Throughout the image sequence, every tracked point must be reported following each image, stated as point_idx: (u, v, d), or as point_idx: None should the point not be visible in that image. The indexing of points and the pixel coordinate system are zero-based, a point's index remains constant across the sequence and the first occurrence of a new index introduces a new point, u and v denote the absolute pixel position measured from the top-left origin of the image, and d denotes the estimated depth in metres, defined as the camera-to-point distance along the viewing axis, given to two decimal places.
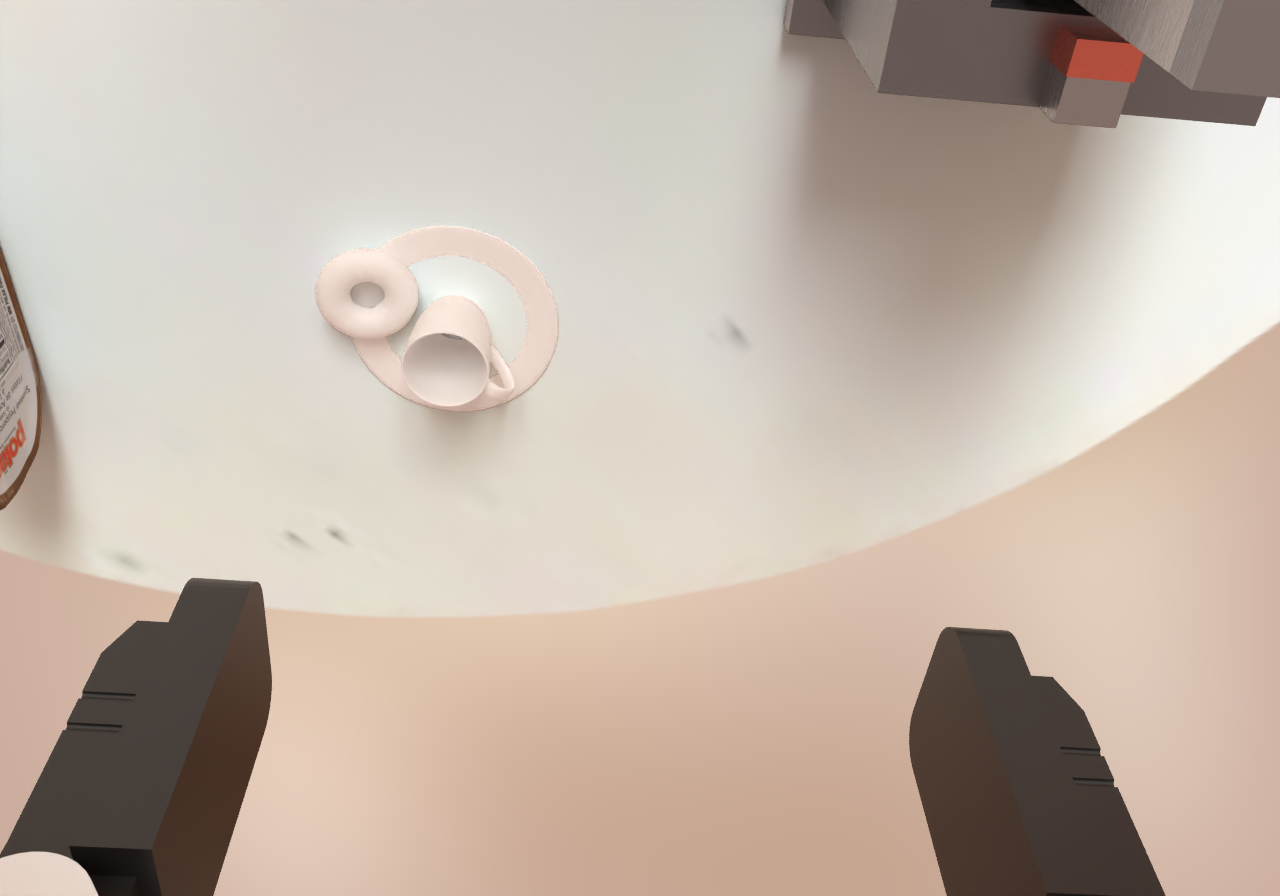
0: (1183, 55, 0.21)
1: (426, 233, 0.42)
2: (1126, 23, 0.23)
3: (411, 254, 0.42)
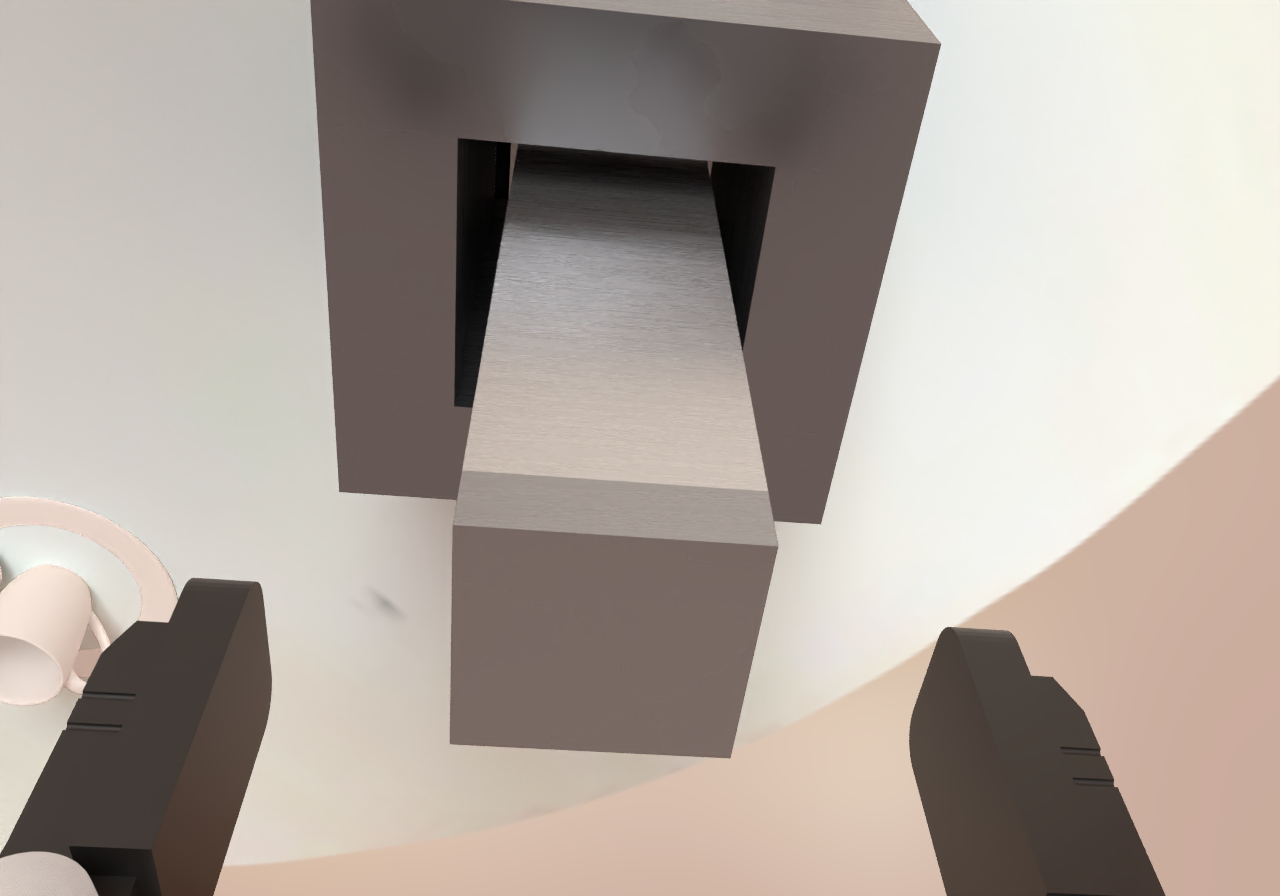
0: None
1: None
2: None
3: None
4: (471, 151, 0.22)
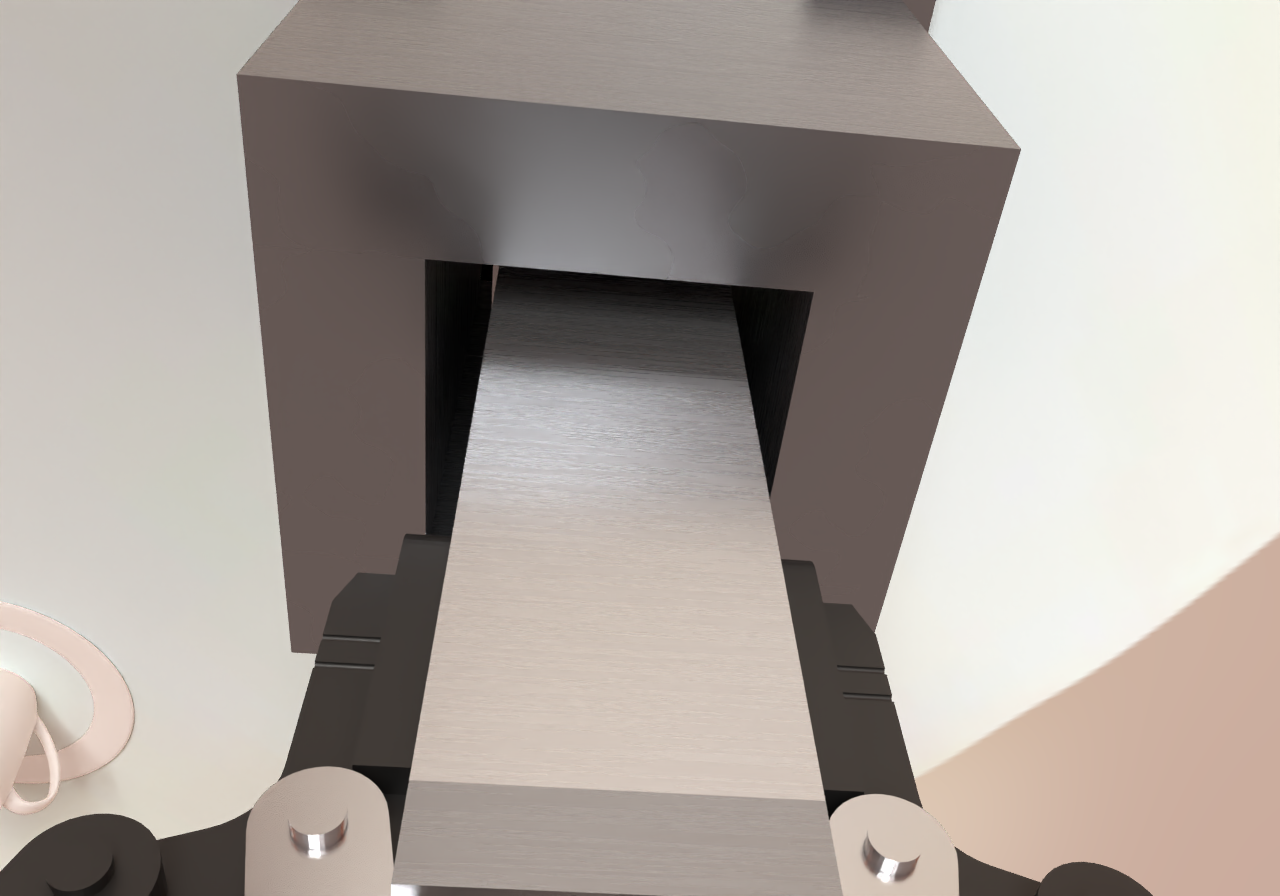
0: None
1: None
2: None
3: None
4: None
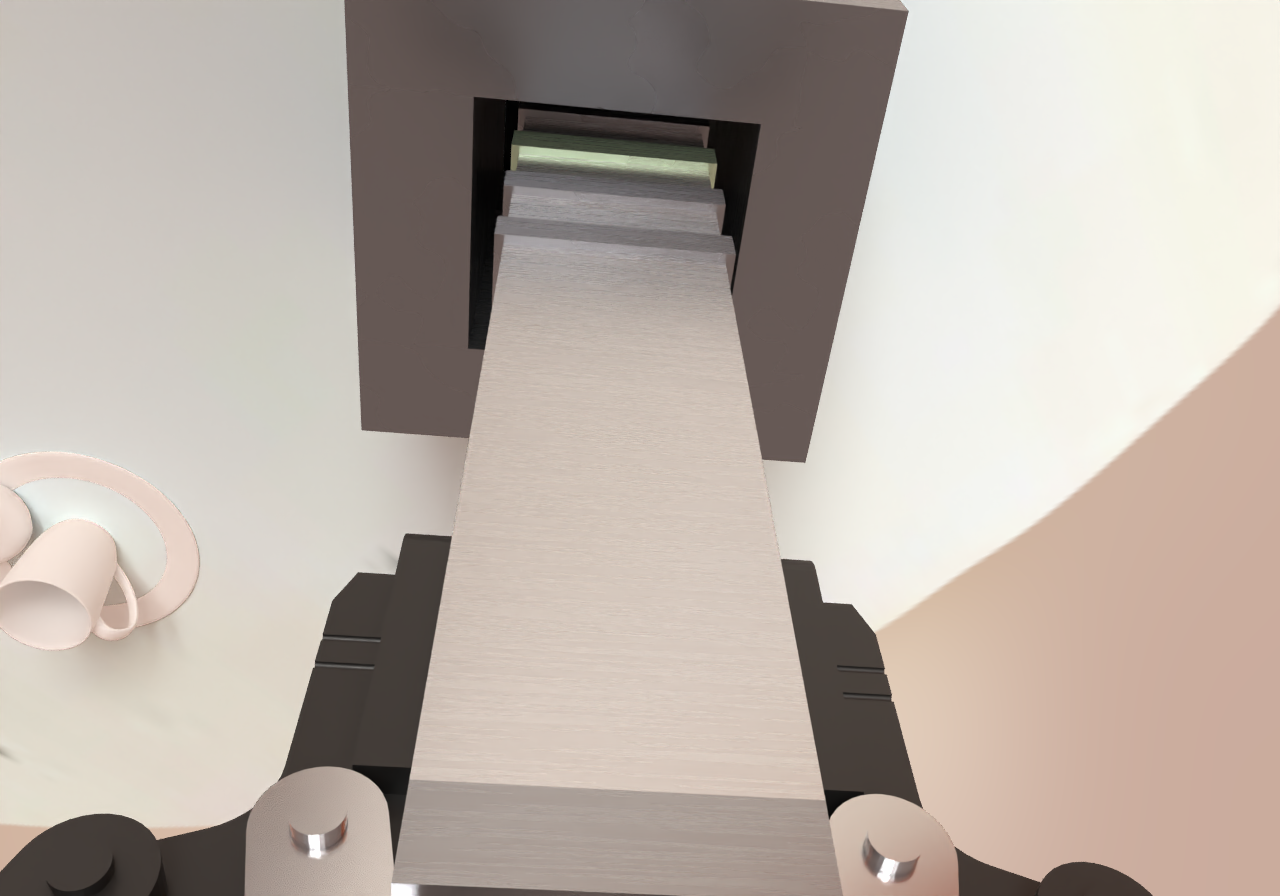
0: None
1: (30, 459, 0.38)
2: None
3: (19, 478, 0.38)
4: (484, 115, 0.24)
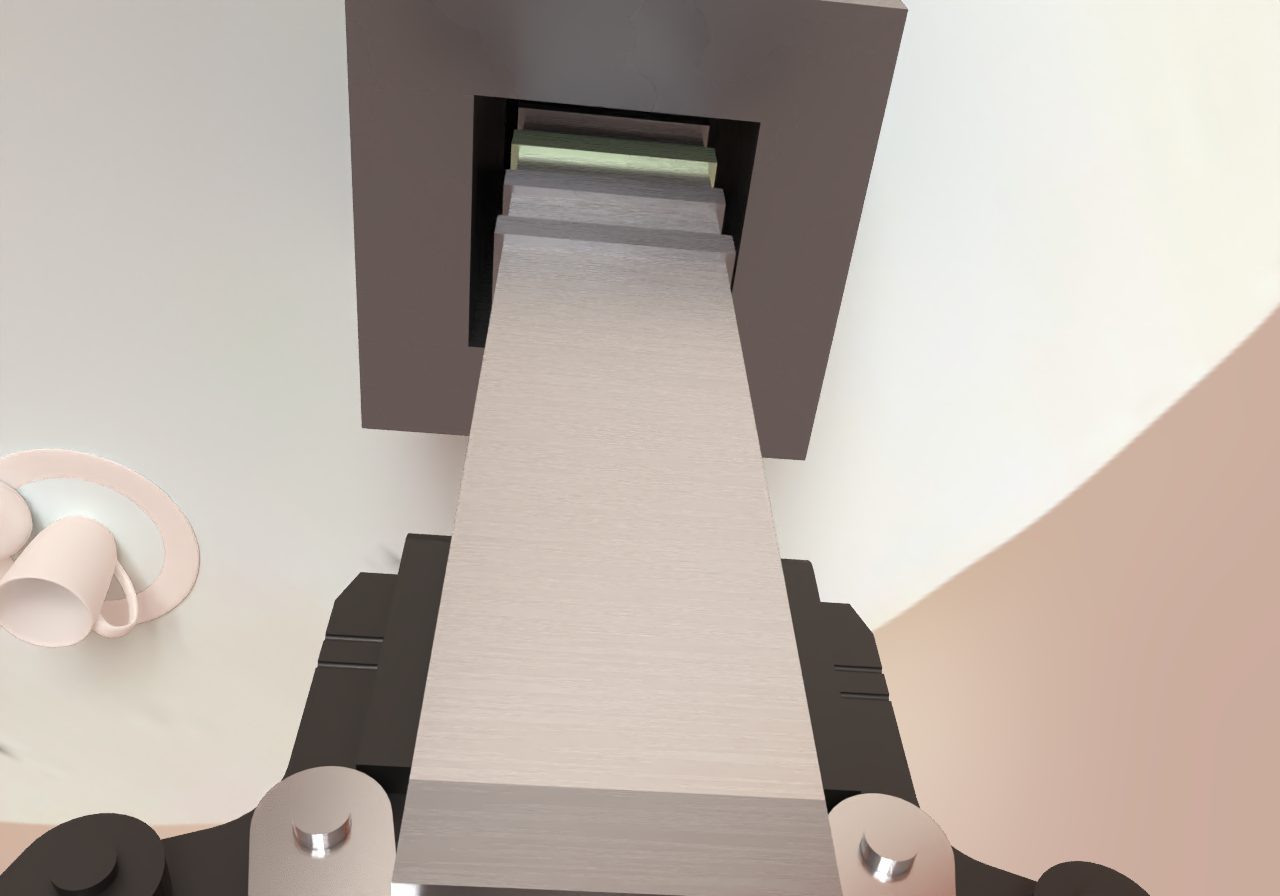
0: None
1: (30, 456, 0.38)
2: None
3: (19, 475, 0.38)
4: (484, 113, 0.24)
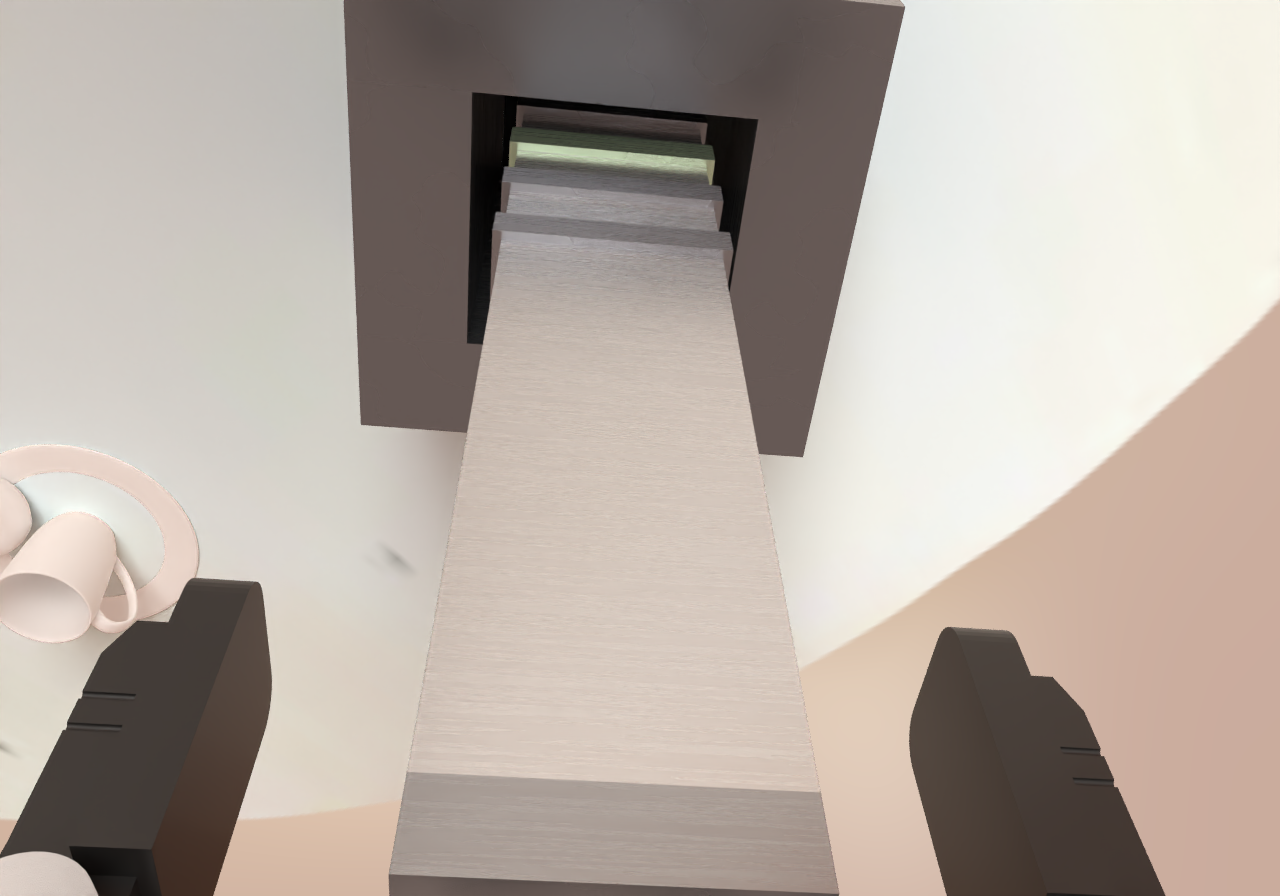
0: None
1: (30, 452, 0.38)
2: None
3: (18, 471, 0.38)
4: (483, 111, 0.24)
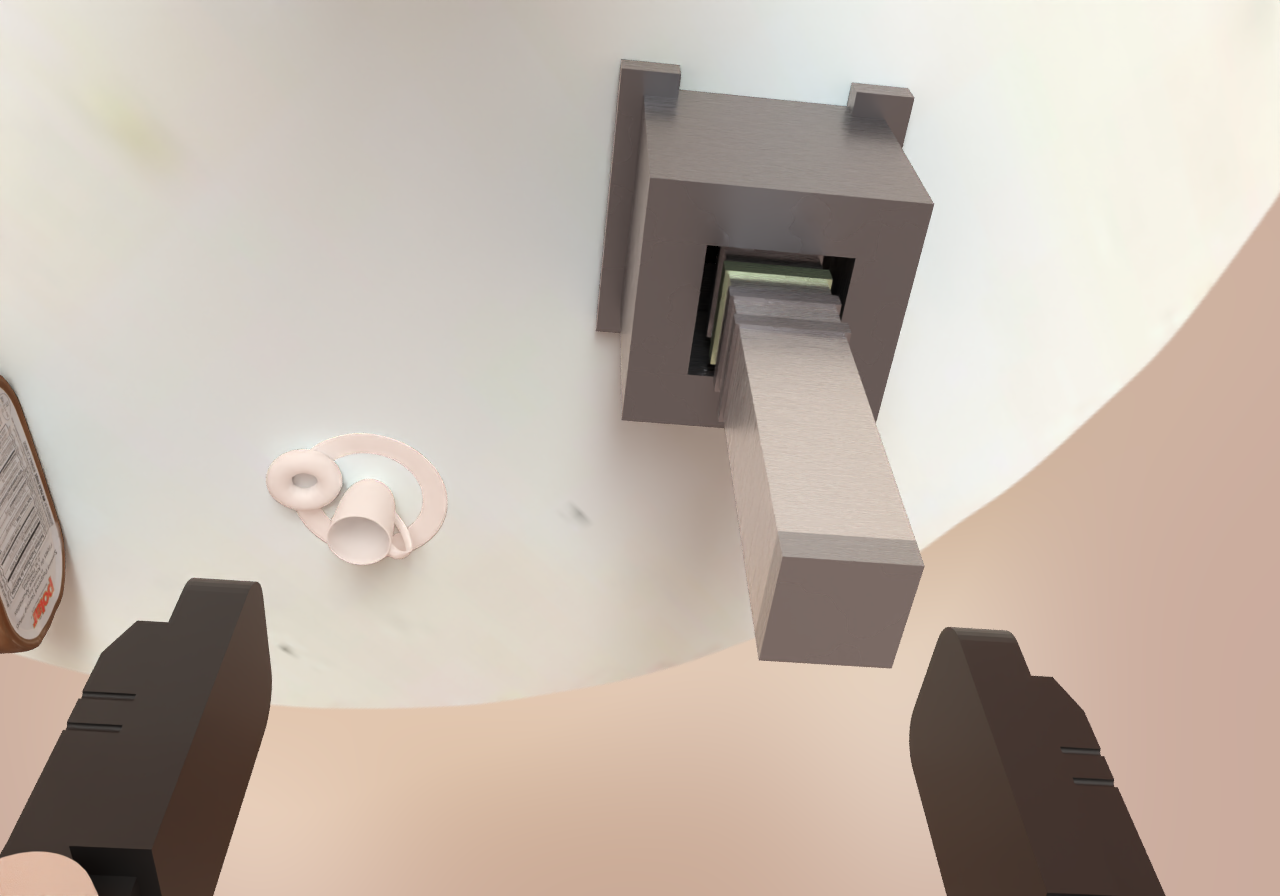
0: (758, 630, 0.31)
1: (347, 438, 0.57)
2: (748, 569, 0.33)
3: (337, 451, 0.58)
4: None
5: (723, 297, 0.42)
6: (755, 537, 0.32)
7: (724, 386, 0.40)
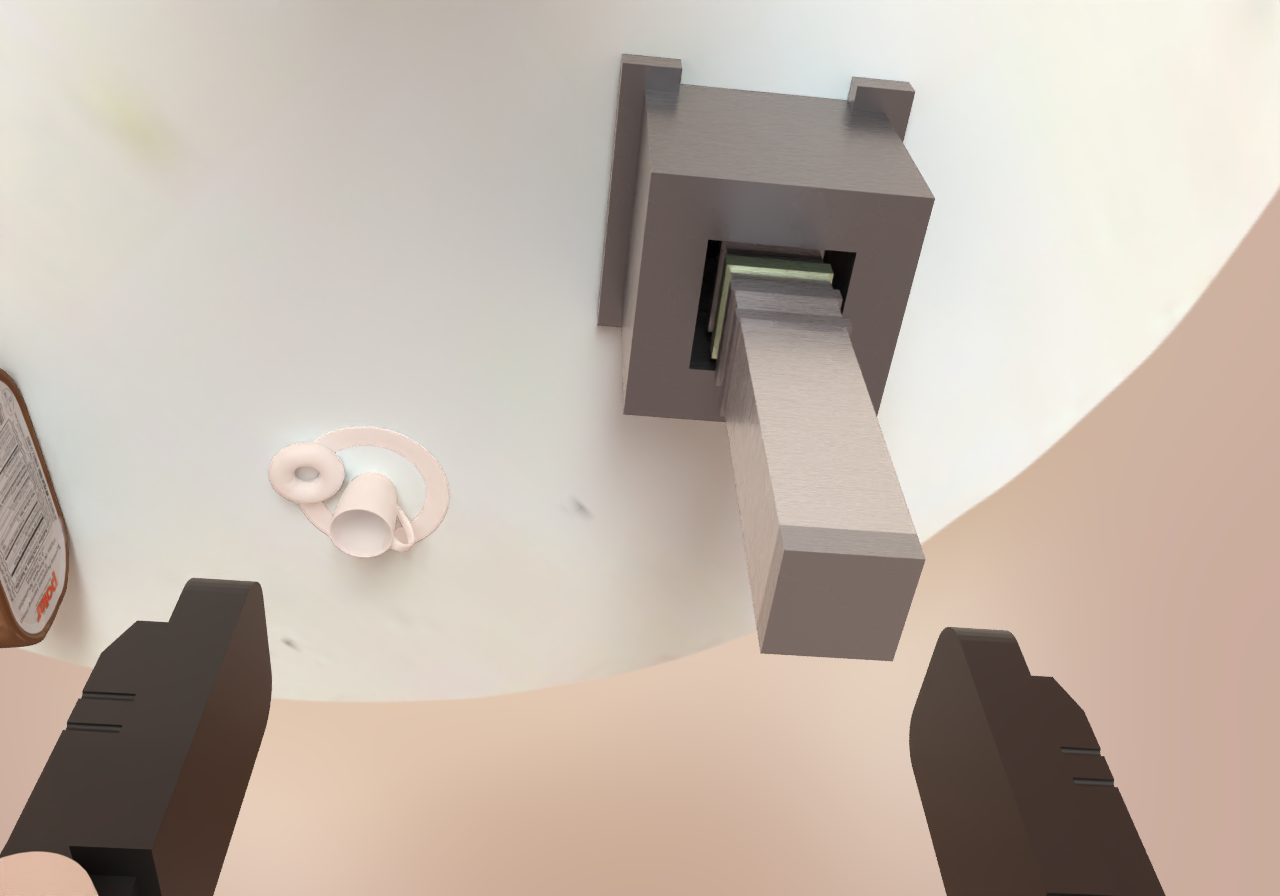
0: (760, 623, 0.31)
1: (349, 431, 0.58)
2: (749, 563, 0.33)
3: (339, 444, 0.58)
4: None
5: (724, 291, 0.42)
6: (757, 531, 0.33)
7: (725, 380, 0.40)
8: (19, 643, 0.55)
